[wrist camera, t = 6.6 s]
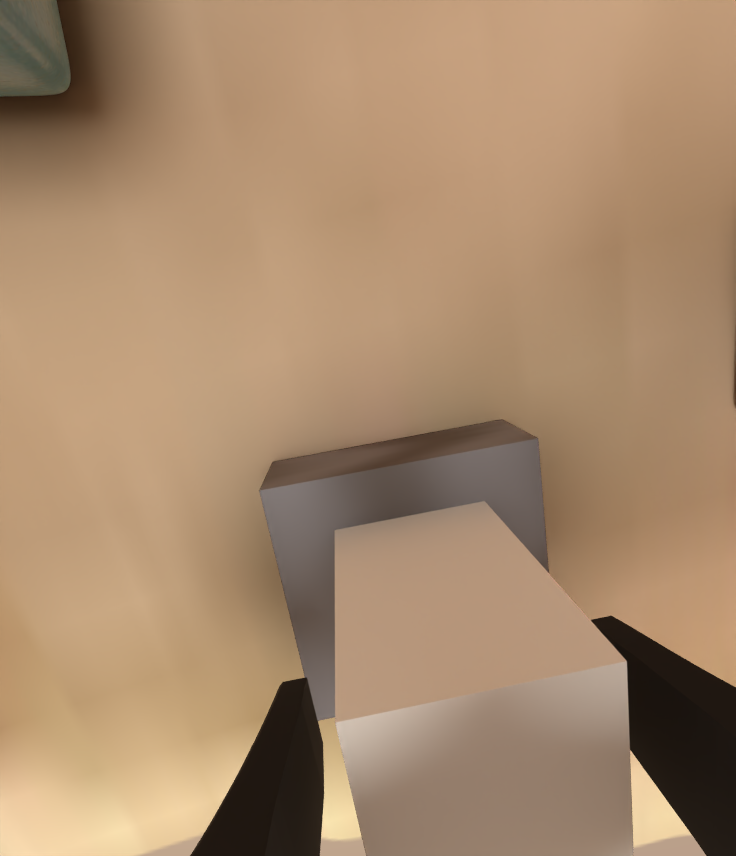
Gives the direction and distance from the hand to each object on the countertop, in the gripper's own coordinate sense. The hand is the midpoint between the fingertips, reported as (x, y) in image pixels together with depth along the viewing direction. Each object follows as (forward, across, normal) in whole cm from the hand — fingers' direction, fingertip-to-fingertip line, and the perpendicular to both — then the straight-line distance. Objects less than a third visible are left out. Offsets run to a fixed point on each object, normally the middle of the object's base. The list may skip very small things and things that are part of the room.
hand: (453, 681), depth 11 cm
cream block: (+4, 0, 0) cm, 4 cm away
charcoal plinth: (+7, 0, 0) cm, 7 cm away
